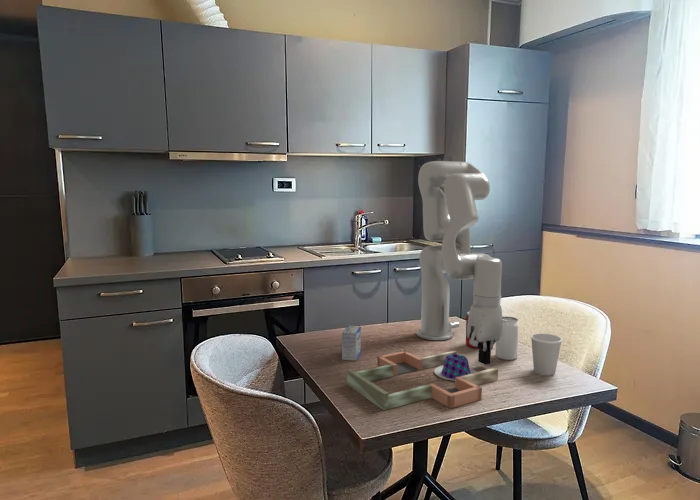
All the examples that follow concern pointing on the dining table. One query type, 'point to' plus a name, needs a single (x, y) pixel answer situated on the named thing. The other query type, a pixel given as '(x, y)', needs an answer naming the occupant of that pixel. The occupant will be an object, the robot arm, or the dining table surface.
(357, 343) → the medicine box
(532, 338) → the dixie cup
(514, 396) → the dining table surface
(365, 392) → the track
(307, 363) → the dining table surface
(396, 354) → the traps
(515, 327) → the can
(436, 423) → the dining table surface
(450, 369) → the pudding
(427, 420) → the dining table surface
